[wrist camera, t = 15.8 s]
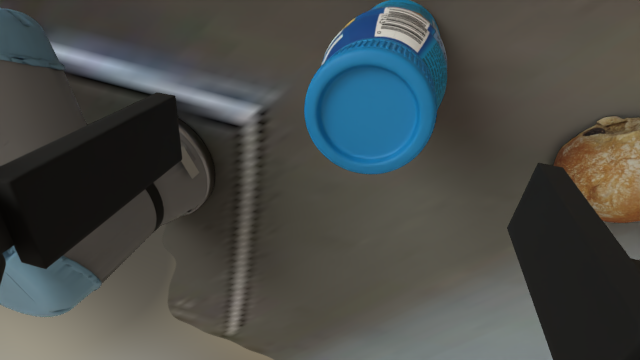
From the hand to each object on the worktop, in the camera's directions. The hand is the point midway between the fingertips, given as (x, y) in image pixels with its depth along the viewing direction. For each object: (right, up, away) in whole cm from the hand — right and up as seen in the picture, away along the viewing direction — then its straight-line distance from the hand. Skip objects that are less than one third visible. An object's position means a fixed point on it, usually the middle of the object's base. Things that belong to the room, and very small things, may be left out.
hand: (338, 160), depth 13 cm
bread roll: (+28, +1, +22) cm, 35 cm away
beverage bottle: (+7, +12, +21) cm, 26 cm away
